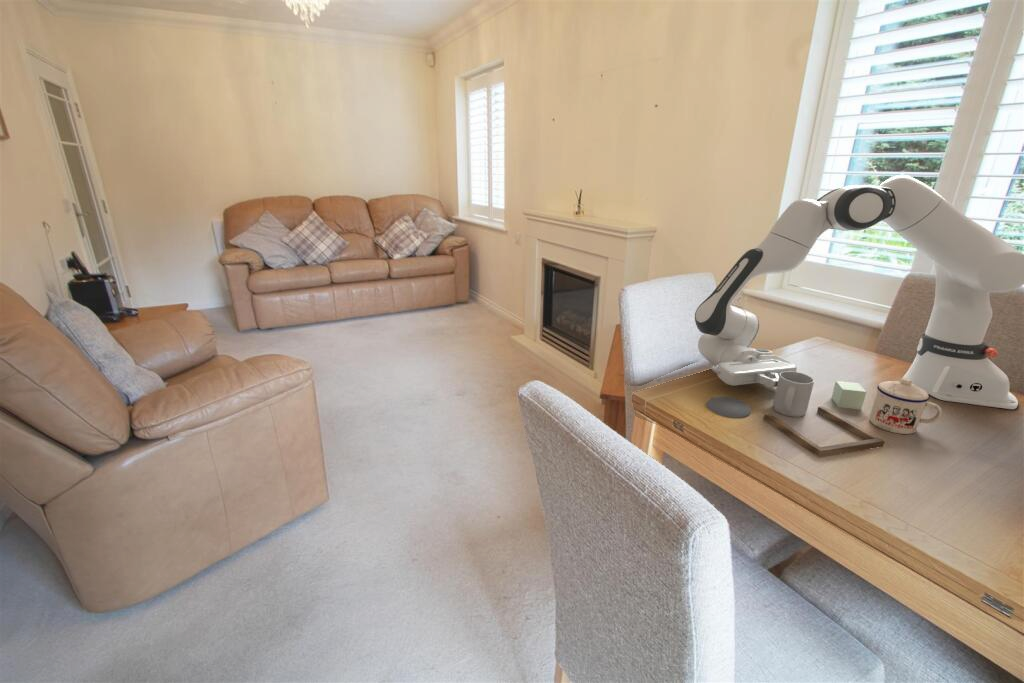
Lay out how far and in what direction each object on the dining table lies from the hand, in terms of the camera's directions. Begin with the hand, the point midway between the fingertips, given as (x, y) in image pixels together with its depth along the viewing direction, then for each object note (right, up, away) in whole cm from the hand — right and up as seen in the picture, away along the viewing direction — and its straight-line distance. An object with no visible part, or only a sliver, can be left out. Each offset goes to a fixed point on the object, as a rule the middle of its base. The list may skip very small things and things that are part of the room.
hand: (778, 384), depth 114 cm
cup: (+1, -7, -2) cm, 7 cm away
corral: (+3, -10, -10) cm, 14 cm away
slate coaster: (-13, -6, 0) cm, 14 cm away
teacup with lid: (+23, -9, -9) cm, 26 cm away
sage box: (+18, -5, +2) cm, 19 cm away
